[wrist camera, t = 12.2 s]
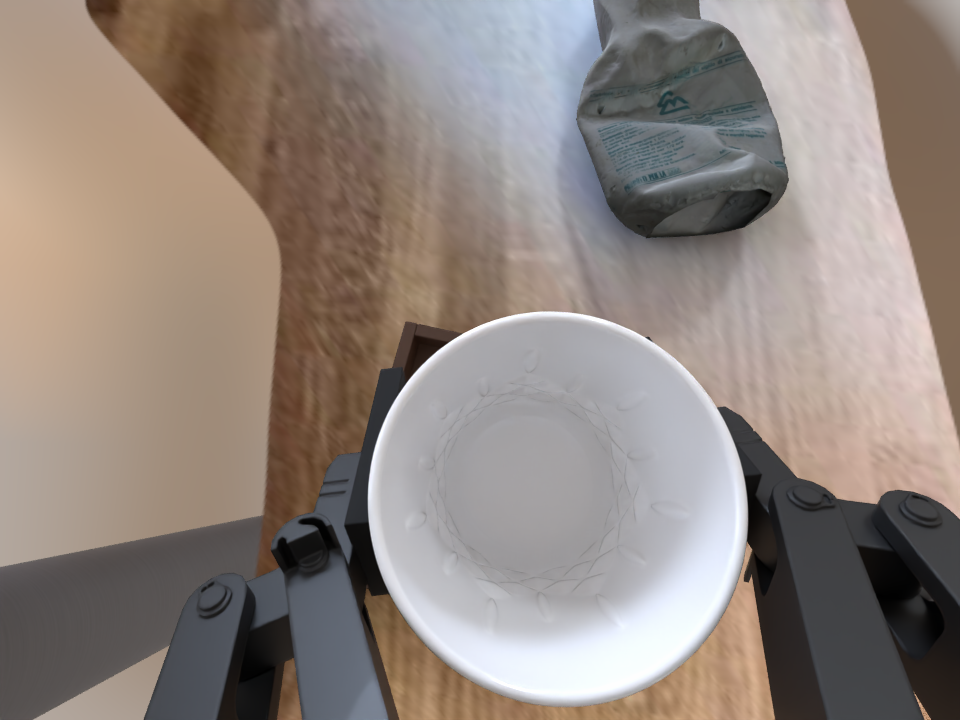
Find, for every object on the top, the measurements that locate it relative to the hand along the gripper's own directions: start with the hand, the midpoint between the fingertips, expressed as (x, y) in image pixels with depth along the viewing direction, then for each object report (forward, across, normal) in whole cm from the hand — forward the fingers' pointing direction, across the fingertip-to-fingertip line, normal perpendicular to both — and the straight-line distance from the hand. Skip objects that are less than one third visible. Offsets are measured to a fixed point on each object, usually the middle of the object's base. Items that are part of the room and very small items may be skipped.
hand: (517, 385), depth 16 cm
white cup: (0, 0, -5) cm, 5 cm away
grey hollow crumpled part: (+26, +14, +6) cm, 30 cm away
